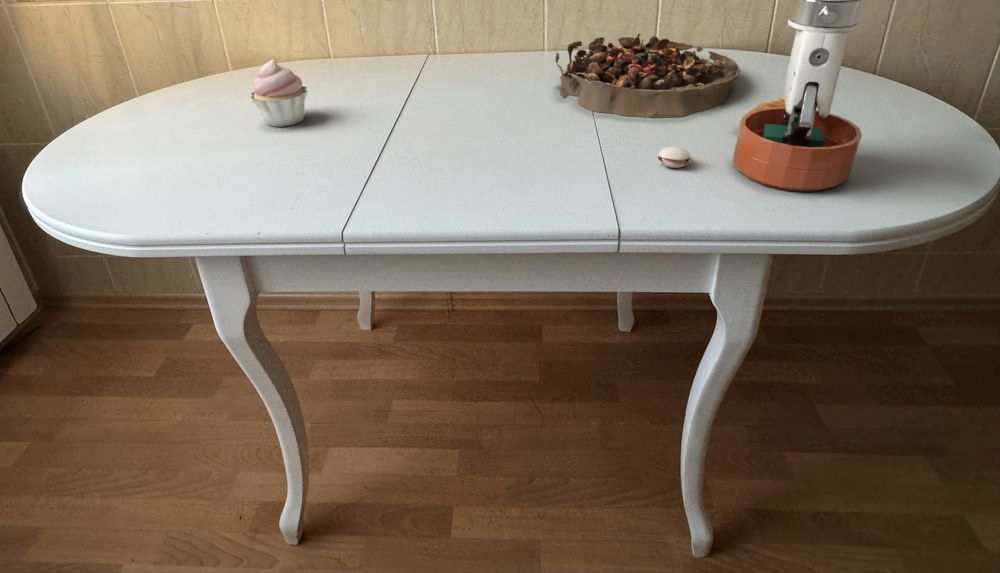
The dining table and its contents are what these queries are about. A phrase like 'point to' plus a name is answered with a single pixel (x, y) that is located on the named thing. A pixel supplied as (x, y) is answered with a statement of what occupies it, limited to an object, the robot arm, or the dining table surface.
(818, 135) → the sponge
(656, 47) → the food dish
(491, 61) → the dining table surface
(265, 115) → the cupcake
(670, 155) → the macaroon
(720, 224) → the dining table surface
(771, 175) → the bowl
